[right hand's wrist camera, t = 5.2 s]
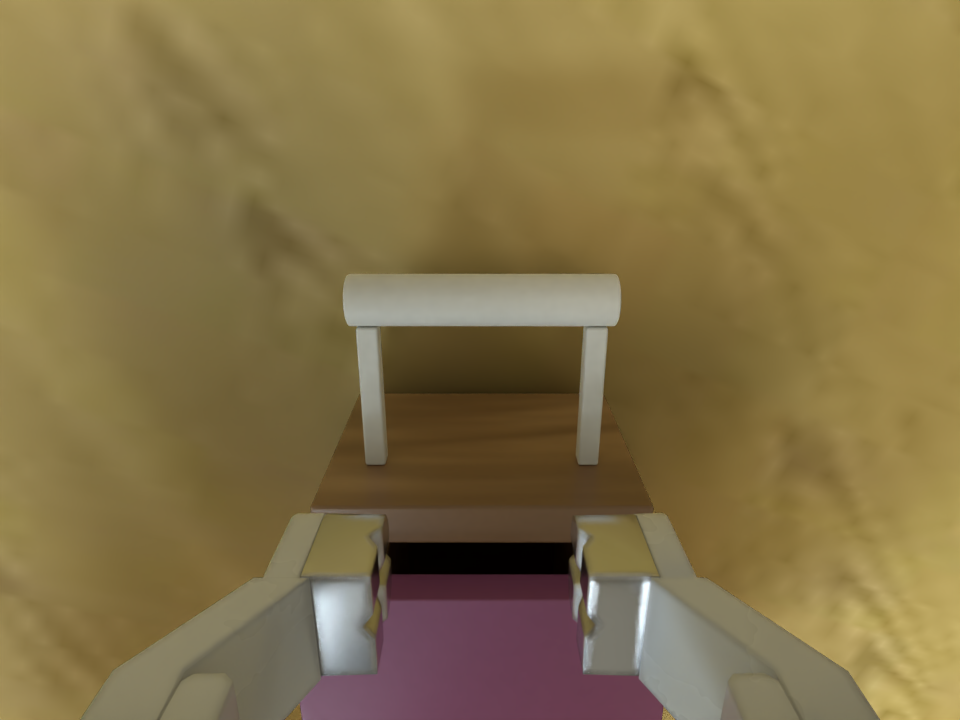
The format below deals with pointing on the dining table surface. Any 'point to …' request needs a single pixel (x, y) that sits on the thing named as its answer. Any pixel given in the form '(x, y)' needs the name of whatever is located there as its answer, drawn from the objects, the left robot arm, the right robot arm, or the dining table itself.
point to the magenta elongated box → (480, 658)
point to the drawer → (481, 431)
